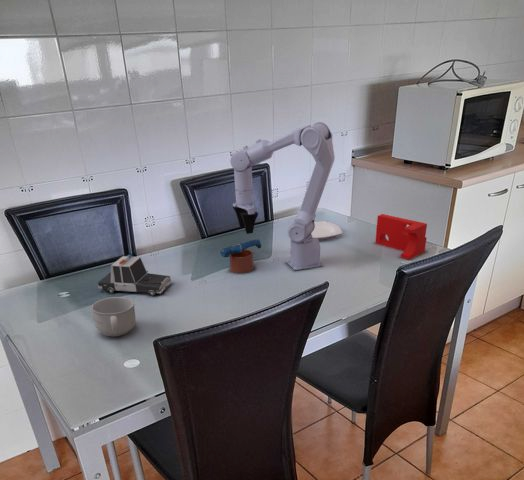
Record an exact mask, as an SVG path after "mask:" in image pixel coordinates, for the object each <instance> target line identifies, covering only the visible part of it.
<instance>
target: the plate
mask: <svg viewBox="0 0 524 480" xmlns="http://www.w3.org/2000/svg"><path fill="white" fill-rule="evenodd" d="M314 223H315V228H314V230H313V232H312V233H311V234H312V237H313V238H314V237H316V238H317V239H318V240H319V241H320V240H327V239H330V238H335V237H336V236H340V235H342V234H343V231H342V229H341V227H340V226H339V225H338V224H335V223H332V222H330V221H325V220H324V221H314Z"/></svg>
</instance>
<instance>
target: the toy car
mask: <svg viewBox="0 0 524 480" xmlns="http://www.w3.org/2000/svg"><path fill="white" fill-rule="evenodd" d="M148 272H149V271H148V270H147V269H146V267H145V264H144V262H143V260H142V257H141V256H133V255H132V254H127V255H123V256H121V257H120V258H118V259H117V260H116V261H115V262H114V263H112V264H111V265H110V272H109V273H108V274H106V275H105V276H104V277H103V278H102V279H101V280H99V281H98V282H97V284H98V285H97V288H98V289H100V290H104V291H108V293H109V294H114V293H115V291H118V292H131V293H132V292H134V293H148V294H149V296H150V297H154V296H155V295H156V294H162V293H163V292H164V291H165V290H166V289H167V288H168V287H169V286H170V284H171V283H172V281H173V280H172V279H171V275H164V274H158V273H157V274H156V273H150V272H149V273H148Z"/></svg>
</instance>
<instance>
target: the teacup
mask: <svg viewBox="0 0 524 480" xmlns="http://www.w3.org/2000/svg"><path fill="white" fill-rule="evenodd" d="M90 309H91V311H92V312H91V313H92V317H93V322H94V325H95V328H96V330H97V331H99V332H100V333H101V334H104V335H105V336H108V337H121V336H124V335H126V334H127V333H130V331H131V330H132V329H134V326H135V325H136V310H135V301H134V300H132V299H131V298H128V297H124V296H111V297H105V298H101V299H99V300H96V301H95V302H94V303H92V305H91V307H90Z"/></svg>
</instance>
